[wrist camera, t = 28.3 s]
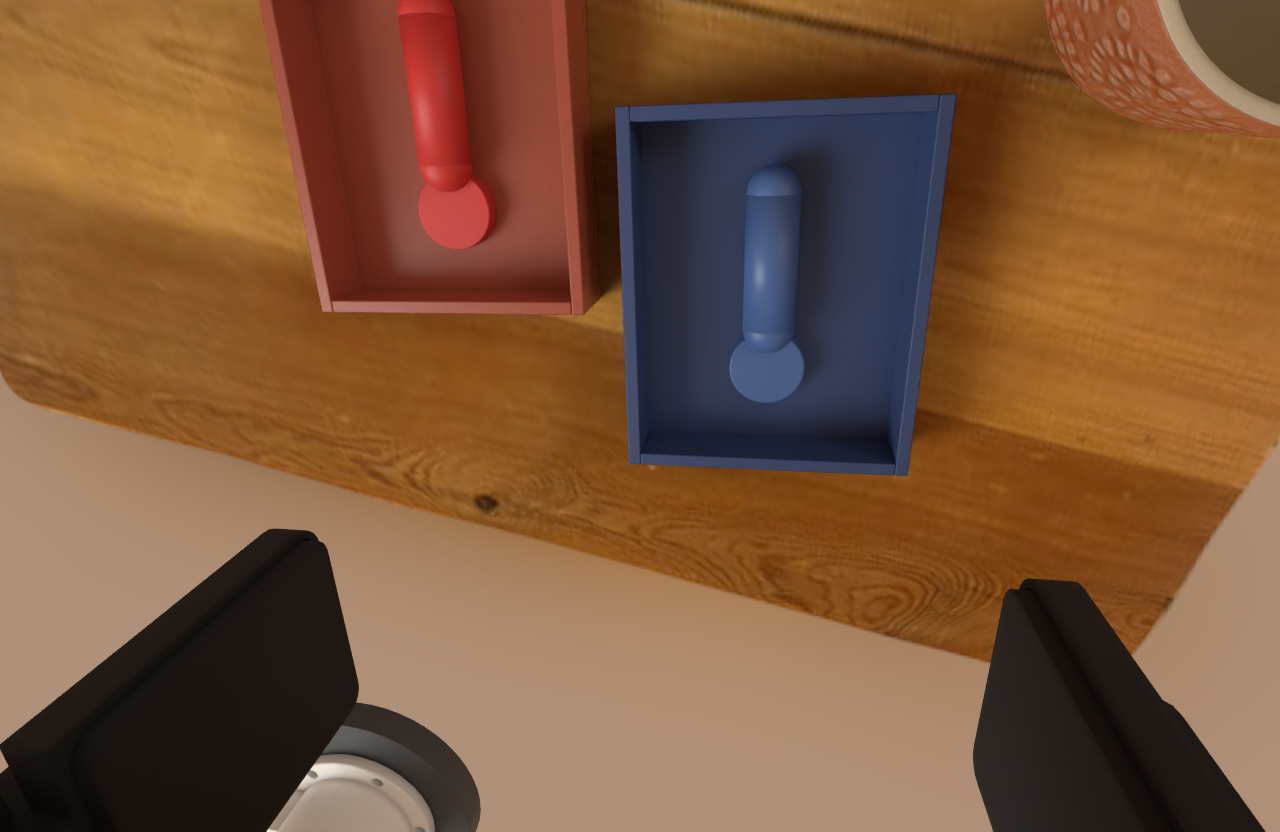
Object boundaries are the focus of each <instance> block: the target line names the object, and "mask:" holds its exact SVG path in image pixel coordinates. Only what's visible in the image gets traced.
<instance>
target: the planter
mask: <svg viewBox="0 0 1280 832" xmlns="http://www.w3.org/2000/svg"><path fill="white" fill-rule="evenodd" d="M1044 9H1045V16H1046V22H1047V26H1048V30H1049V34H1050V37H1051V40H1052V43H1053V46H1054V48H1055V51H1056V53H1057V55H1058V57H1059V59H1060V61H1061V63H1062V64H1063V66H1064V68H1065V69H1066V71H1067V72H1068V74H1069V75H1070V76H1071V78H1072V79H1073V80H1074V81H1075V82H1076V84H1077V85H1078V86H1079V87H1080V88H1081V89H1082V90H1083V91H1084V92H1085V93H1087V94H1088V95H1089V96H1090V97H1091V98H1093V99H1094V100H1095V101H1097V102H1098V103H1099V104H1101V105H1102V106H1104V107H1105V108H1107V109H1109V110H1111V111H1112V112H1114V113H1116V114H1118V115H1121V116H1123V117H1125V118H1128V119H1131V120H1134V121H1137V122H1141V123H1144V124H1148V125H1152V126H1155V127H1160V128H1164V129H1170V130H1177V131H1189V132H1208V133H1219V134H1228V135H1238V136H1251V137H1264V138H1280V0H1044Z"/></svg>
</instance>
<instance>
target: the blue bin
mask: <svg viewBox="0 0 1280 832" xmlns="http://www.w3.org/2000/svg"><path fill="white" fill-rule="evenodd" d="M956 97H957V95H956V94H955V93H953V94H940V95H939V94H928V95H902V96H876V97H850V98H824V99H799V100H773V101H747V102H721V103H695V104H670V105H644V106H617V107H615V123H616V148H617V174H618V199H619V225H620V250H621V275H622V301H623V326H624V352H625V377H626V403H627V428H628V453H629V464H651V465H673V466H695V467H717V468H739V469H761V470H783V471H805V472H827V473H849V474H871V475H894V474H895V475H896V476H907V475H908V470H909V462H910V454H911V446H912V438H913V431H914V423H915V415H916V407H917V400H918V392H919V384H920V376H921V369H922V361H923V353H924V345H925V338H926V330H927V322H928V314H929V307H930V299H931V291H932V283H933V276H934V268H935V260H936V252H937V245H938V237H939V229H940V221H941V213H942V206H943V198H944V190H945V182H946V175H947V167H948V159H949V151H950V144H951V136H952V128H953V120H954V113H955V105H956ZM773 164H778V165H783V166H786V167H788V168H790V169H791V170H793V171H794V172H795V173H796V175H797V176H798V178H799V180H800V182H801V186H802V204H801V222H800V240H799V258H798V276H797V293H796V311H795V329H794V334H793V338H794V339H795V340H796V341H797V343H798V344H799V346H800V348H801V350H802V353H803V357H804V363H805V371H804V376H803V379H802V381H801V383H800V385H799V387H798V388H797V389H796V390H795V391H794V392H793V393H792V394H791V395H790V396H788V397H787V398H785V399H783V400H780V401H777V402H772V403H760V402H756V401H753V400H750V399H748V398H746V397H745V396H743V395H742V394H741V393H740V392H739V391H738V390H737V389H736V388H735V386H734V384H733V382H732V380H731V377H730V373H729V363H730V357H731V353H732V350H733V348H734V346H735V345H736V343H737V342H738V341H739V340H740V339H741V338H742V337H743V336H744V334H743V291H744V254H745V217H746V191H747V186H748V183H749V181H750V179H751V178H752V176H753V175H754V174H755V173H756V172H757V171H758V170H759V169H761V168H763V167H765V166H768V165H773Z"/></svg>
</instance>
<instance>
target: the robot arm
mask: <svg viewBox="0 0 1280 832" xmlns="http://www.w3.org/2000/svg"><path fill="white" fill-rule="evenodd" d="M358 692H359V684H358V679H357V675H356V670H355V666H354V661H353V657H352V653H351V649H350V644H349V640H348V636H347V632H346V628H345V623H344V618H343V614H342V610H341V606H340V601H339V597H338V593H337V588H336V585H335V580H334V575H333V571H332V567H331V562H330V558H329V554H328V550H327V548H326V546H325V545H324V543H322V542H320V541H318V538H317V537H316V536H315V534H314V533H312V532H310V531H305V530H288V529H269V530H267V531H266V532H264V533H263V534H261V535H260V536H259V537H258V538H257V539H255V540H254V541H253V542H251V543H250V544H249V545H248V546H246V547H245V548H244V549H243V550H241V551H240V552H239V553H238V554H237V555H235V556H234V557H233V558H231V559H230V560H229V561H228V562H226V563H225V564H224V565H223V566H222V567H220V568H219V569H218V570H216V572H214V573H213V574H211V575H210V576H209V577H208V578H207V579H205V580H204V581H203V582H202V583H200V584H199V585H198V586H197V587H195V588H194V589H193V590H192V591H190V592H189V593H188V594H187V595H185V596H184V597H183V598H182V599H180V600H179V601H178V602H177V603H175V604H174V605H173V606H172V607H171V608H169V609H168V610H167V611H166V612H164V613H163V614H162V615H161V616H159V617H158V618H157V619H155V620H154V621H153V622H152V623H151V624H149V625H148V626H147V627H146V628H145V629H143V630H142V631H141V632H139V633H138V634H137V635H136V636H134V637H133V638H132V639H131V640H129V641H128V642H127V643H126V644H125V645H123V646H122V647H121V648H119V649H118V650H117V651H116V652H115V653H113V654H112V655H111V656H109V657H108V658H107V659H106V660H104V661H103V662H102V663H101V664H99V665H98V666H97V667H96V668H95V669H93V670H92V671H91V672H90V673H88V674H87V675H86V676H85V677H83V678H82V679H81V680H80V681H78V682H77V683H76V684H75V685H74V686H72V687H71V688H70V689H68V690H67V691H66V692H65V693H63V694H62V695H61V696H60V697H58V698H57V699H56V700H55V701H53V702H52V703H51V704H50V705H48V706H47V707H46V708H45V709H43V710H42V711H41V712H40V713H39V714H37V715H36V716H35V717H34V718H33V719H31V720H30V721H29V722H27V723H26V724H25V725H24V726H22V727H21V728H20V729H19V730H17V731H16V732H15V733H14V734H12V735H11V736H10V737H9V738H7V739H6V740H5V741H4V742H2V743H1V744H0V750H1V752H2V754H3V756H4V758H5V760H6V762H7V764H8V766H9V767H8V768H6V769H5V770H4V771H3V772H2V773H0V832H435V825H434V819H433V816H432V813H431V811H430V808H429V806H428V805H427V803H426V801H425V800H424V798H423V797H422V795H421V794H420V793H419V792H418V791H417V790H416V789H415V787H414V786H413V785H412V784H410V783H409V782H408V781H407V780H406V779H405V778H403V777H402V776H401V775H399V774H398V773H396V772H395V771H393V770H391V769H390V768H388V767H386V766H384V765H382V764H380V763H378V762H375V761H372V760H369V759H366V758H363V757H359V756H354V755H349V754H328V755H321V754H322V753H323V751H324V750H325V748H326V747H327V745H328V744H329V743H330V741H331V740H332V738H333V737H334V736H335V734H336V733H337V731H338V730H339V729H340V727H341V726H342V724H343V723H344V721H345V720H346V719H347V717H348V716H349V714H350V713H351V712H352V710H353V708H354V706H355V704H356V701H357V697H358ZM320 755H321V756H320ZM973 762H974V763H973V764H974V771H975V776H976V780H977V783H978V786H979V790H980V793H981V795H982V799H983V802H984V805H985V808H986V811H987V814H988V817H989V820H990V823H991V826H992V829H993V832H1265V830H1264V829H1263V828H1262V826H1261V825H1260V823H1259V822H1258V821H1257V819H1256V818H1255V816H1254V815H1253V814H1252V812H1251V811H1250V809H1249V808H1248V807H1247V805H1246V804H1245V803H1244V801H1243V800H1242V798H1241V797H1240V795H1239V794H1238V793H1237V791H1236V790H1235V789H1234V787H1233V786H1232V784H1231V783H1230V782H1229V780H1228V779H1227V777H1226V776H1225V775H1224V773H1223V772H1222V770H1221V769H1220V768H1219V766H1218V765H1217V763H1216V762H1215V761H1214V759H1213V758H1212V757H1211V755H1210V754H1209V753H1208V751H1207V749H1206V748H1205V747H1204V745H1203V744H1202V743H1201V741H1200V740H1199V739H1198V737H1197V736H1196V734H1195V733H1194V732H1193V730H1192V729H1191V728H1190V726H1189V724H1188V723H1187V722H1186V720H1185V719H1184V718H1183V716H1182V715H1181V714H1180V713H1179V712H1178V711H1177V710H1176V709H1175V708H1174V706H1172V705H1170V704H1168V703H1167V702H1165V701H1163V700H1162V699H1161V697H1160V696H1159V694H1158V693H1157V691H1156V690H1155V689H1154V687H1153V686H1152V684H1151V683H1150V682H1149V680H1148V679H1147V677H1146V676H1145V674H1144V673H1143V672H1142V670H1141V669H1140V667H1139V666H1138V664H1137V663H1136V662H1135V660H1134V659H1133V657H1132V656H1131V654H1130V653H1129V652H1128V650H1127V649H1126V647H1125V646H1124V645H1123V643H1122V642H1121V640H1120V639H1119V637H1118V636H1117V635H1116V633H1115V632H1114V630H1113V629H1112V627H1111V626H1110V625H1109V623H1108V622H1107V620H1106V619H1105V617H1104V616H1103V615H1102V613H1101V612H1100V610H1099V609H1098V608H1097V606H1096V605H1095V603H1094V602H1093V600H1092V599H1091V598H1090V596H1089V595H1088V593H1087V592H1086V590H1085V589H1084V588H1083V587H1082V586H1081V585H1080V584H1079V583H1077V582H1074V581H1058V580H1043V579H1026V580H1024V581H1023V582H1022V584H1021V585H1020V589H1019V590H1017V589H1009V590H1007V592H1006V593H1005V596H1004V599H1003V604H1002V609H1001V614H1000V619H999V624H998V629H997V634H996V639H995V644H994V649H993V654H992V659H991V664H990V669H989V674H988V679H987V684H986V689H985V694H984V699H983V703H982V709H981V713H980V719H979V723H978V728H977V733H976V738H975V743H974V750H973Z"/></svg>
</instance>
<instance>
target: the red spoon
mask: <svg viewBox="0 0 1280 832" xmlns="http://www.w3.org/2000/svg"><path fill="white" fill-rule="evenodd" d="M398 21H399V28H400V35H401V42H402V49H403V56H404V63H405V70H406V78H407V85H408V92H409V99H410V106H411V113H412V120H413V128H414V135H415V142H416V149H417V156H418V163H419V169H420V172H421V175H422V177H423V178H424V180H425V181H426V182H427V183H426V184H425V185H424V187H423V189H422V191H421V193H420V197H419V203H418V209H419V216H420V219H421V222H422V225H423V227H424V228H425V230H426V232H427V233H428V234H429V236H430V237H431V238H432V239H433V240H435V241H436V242H437V243H439V244H440V245H442V246H444V247H446V248H449V249H454V250H464V249H468V248H471V247H473V246H476V245H478V244H480V243H482V242H483V241H484V240H486V239H487V238H488V237H489V235H490V234H491V232H492V230H493V228H494V226H495V222H496V205H495V201H494V198H493V196H492V194H491V192H490V190H489V189H488V187H487V186H486V185H485V184H484V182H483V181H481V180H480V179H479V178H478V177H476V176H474V175H472V157H471V148H470V139H469V131H468V122H467V113H466V104H465V95H464V86H463V77H462V68H461V60H460V51H459V42H458V33H457V24H456V16H455V11H454V8H453V6H452V4H451V2H450V0H400V1H399V5H398Z"/></svg>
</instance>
